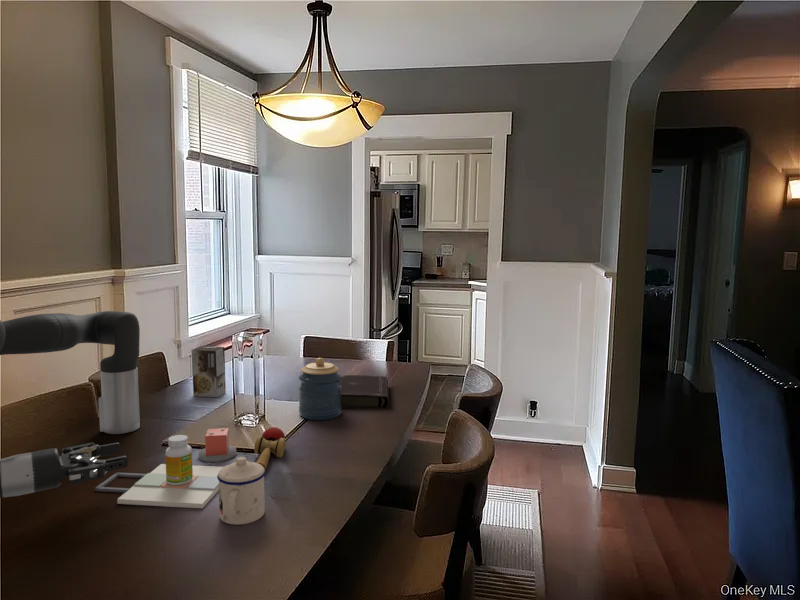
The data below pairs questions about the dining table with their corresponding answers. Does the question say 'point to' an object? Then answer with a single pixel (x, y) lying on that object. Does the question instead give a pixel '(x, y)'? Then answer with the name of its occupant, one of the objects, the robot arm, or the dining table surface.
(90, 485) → the dining table surface
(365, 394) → the diary
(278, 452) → the kendama
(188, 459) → the supplement bottle
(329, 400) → the canister
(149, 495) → the game board
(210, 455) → the red die
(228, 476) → the teacup with lid
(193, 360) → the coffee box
